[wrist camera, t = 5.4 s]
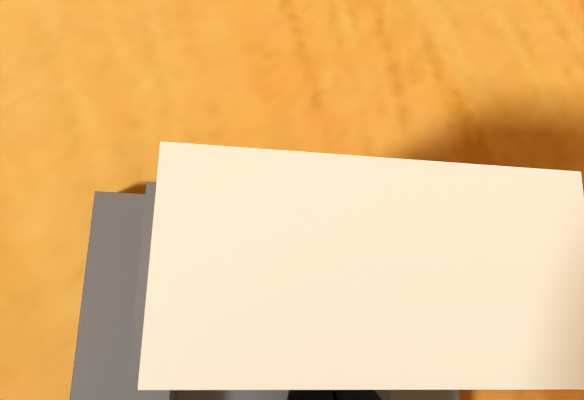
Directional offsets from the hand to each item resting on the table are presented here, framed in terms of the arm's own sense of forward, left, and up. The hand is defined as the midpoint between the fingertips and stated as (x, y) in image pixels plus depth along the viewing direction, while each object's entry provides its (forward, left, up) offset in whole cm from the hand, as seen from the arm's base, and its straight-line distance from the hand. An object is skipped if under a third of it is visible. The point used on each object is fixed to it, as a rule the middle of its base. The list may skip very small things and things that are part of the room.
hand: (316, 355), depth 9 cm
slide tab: (+1, 0, -7) cm, 7 cm away
